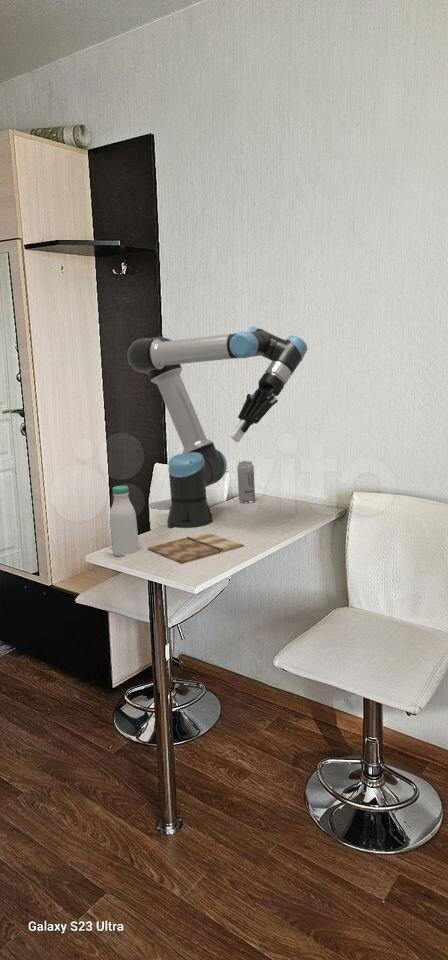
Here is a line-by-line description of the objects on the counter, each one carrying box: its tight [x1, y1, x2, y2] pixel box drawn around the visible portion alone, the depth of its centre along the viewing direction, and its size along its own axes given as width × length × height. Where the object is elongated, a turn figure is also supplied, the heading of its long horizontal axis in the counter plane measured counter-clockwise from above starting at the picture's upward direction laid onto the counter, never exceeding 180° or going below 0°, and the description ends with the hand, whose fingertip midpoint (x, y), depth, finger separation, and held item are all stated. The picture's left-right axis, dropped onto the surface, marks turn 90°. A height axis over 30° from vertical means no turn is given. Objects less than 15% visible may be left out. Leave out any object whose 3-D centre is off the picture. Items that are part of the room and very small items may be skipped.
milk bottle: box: [109, 485, 140, 557], centre depth 204 cm, size 8×8×20 cm
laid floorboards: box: [186, 532, 245, 554], centre depth 208 cm, size 18×8×2 cm, turn 37°
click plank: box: [147, 537, 221, 565], centre depth 201 cm, size 18×2×13 cm
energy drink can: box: [236, 460, 256, 502], centre depth 260 cm, size 6×6×15 cm
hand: (234, 439), depth 212 cm, fingers closed
